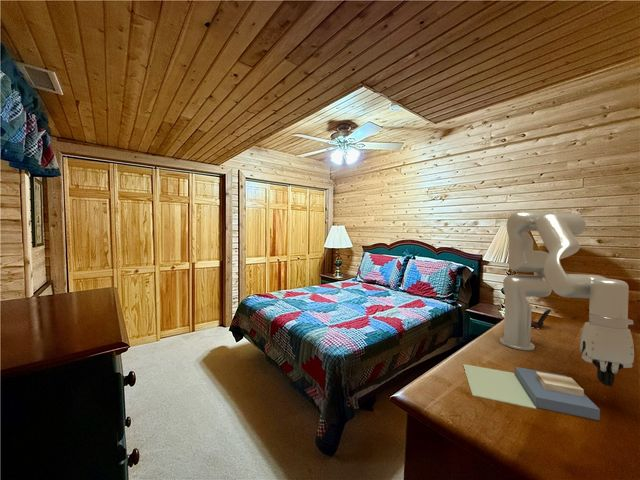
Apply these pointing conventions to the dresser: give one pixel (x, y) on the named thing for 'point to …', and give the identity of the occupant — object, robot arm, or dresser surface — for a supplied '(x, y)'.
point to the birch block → (559, 384)
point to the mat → (497, 386)
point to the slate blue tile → (555, 396)
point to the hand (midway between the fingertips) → (605, 383)
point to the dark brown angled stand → (540, 320)
